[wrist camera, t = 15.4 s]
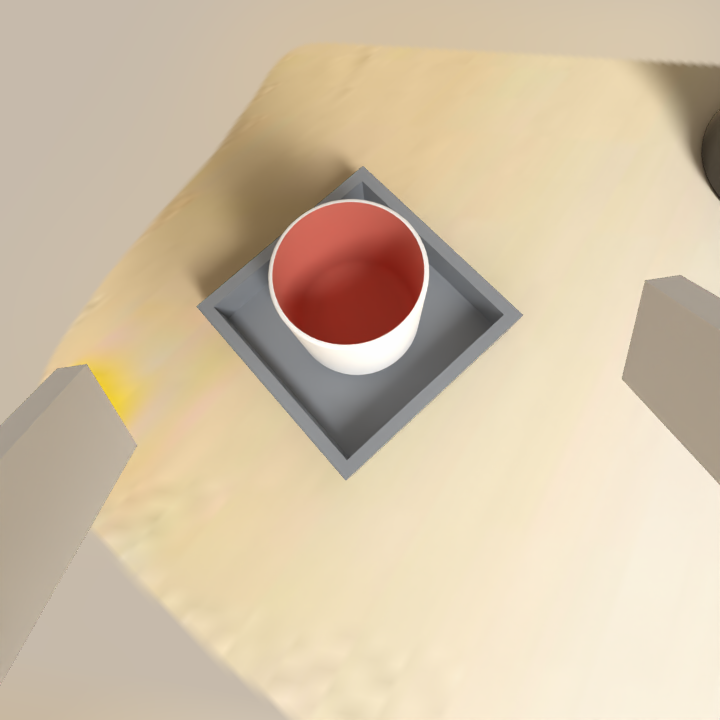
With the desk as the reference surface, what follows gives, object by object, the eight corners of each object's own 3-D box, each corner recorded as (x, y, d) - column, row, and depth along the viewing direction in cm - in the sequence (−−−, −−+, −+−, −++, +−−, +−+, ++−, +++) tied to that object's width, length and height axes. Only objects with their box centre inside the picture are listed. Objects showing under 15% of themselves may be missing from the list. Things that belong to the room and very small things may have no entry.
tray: (508, 329, 36) (523, 315, 32) (350, 477, 34) (345, 480, 30) (365, 194, 39) (362, 165, 35) (216, 321, 38) (196, 306, 34)
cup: (276, 330, 36) (234, 286, 26) (349, 243, 37) (335, 170, 27) (368, 402, 34) (361, 383, 24) (441, 308, 35) (462, 254, 26)
